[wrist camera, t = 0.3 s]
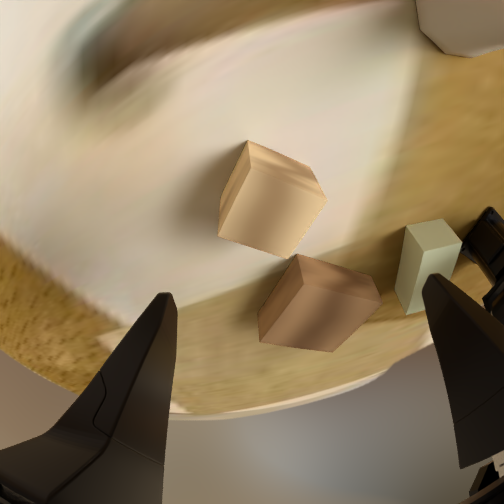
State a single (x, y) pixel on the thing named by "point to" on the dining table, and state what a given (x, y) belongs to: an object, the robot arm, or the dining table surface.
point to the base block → (317, 305)
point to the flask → (463, 25)
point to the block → (424, 260)
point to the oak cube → (269, 201)
